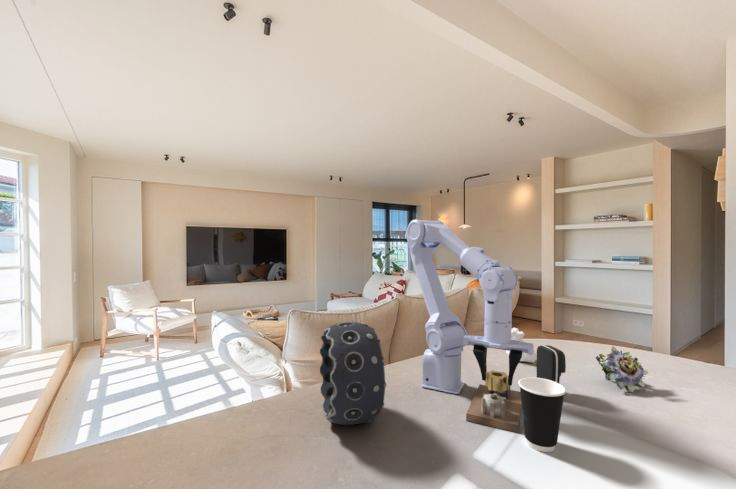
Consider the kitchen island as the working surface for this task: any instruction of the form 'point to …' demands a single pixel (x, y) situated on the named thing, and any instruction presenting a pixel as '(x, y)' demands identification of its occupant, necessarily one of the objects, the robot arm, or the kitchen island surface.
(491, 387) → the brass gear
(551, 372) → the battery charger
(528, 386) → the dixie cup
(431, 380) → the robot arm
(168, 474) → the kitchen island surface
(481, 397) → the gear board
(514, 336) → the bust
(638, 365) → the passion flower
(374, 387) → the dark grey patterned wheel
